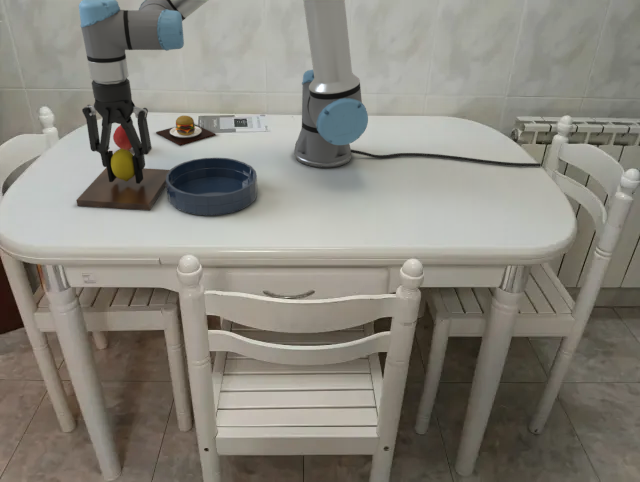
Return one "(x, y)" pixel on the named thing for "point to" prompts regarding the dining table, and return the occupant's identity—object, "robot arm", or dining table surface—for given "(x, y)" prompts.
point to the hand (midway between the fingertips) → (126, 179)
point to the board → (125, 191)
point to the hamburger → (185, 131)
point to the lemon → (122, 164)
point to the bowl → (211, 186)
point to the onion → (121, 139)
